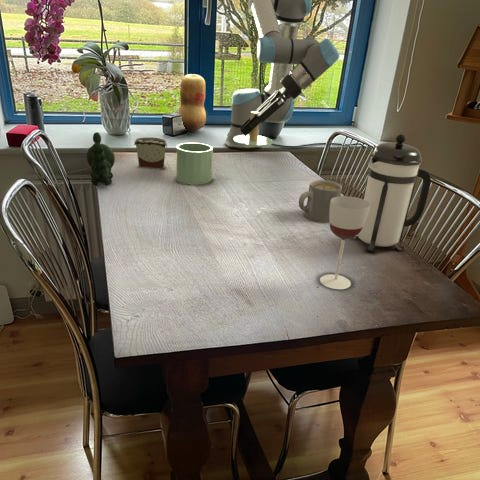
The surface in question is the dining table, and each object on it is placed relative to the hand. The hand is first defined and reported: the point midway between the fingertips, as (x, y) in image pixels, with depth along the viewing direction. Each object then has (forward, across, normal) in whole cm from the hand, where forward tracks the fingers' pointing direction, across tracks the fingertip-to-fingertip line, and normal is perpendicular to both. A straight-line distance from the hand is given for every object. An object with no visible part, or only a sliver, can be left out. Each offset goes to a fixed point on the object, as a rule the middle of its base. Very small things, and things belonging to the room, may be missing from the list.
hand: (242, 131), depth 171 cm
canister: (+24, 0, -1) cm, 24 cm away
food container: (+36, +15, +10) cm, 40 cm away
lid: (-1, 0, -5) cm, 5 cm away
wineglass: (-2, -74, -27) cm, 78 cm away
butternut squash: (+27, +76, +1) cm, 80 cm away
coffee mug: (-4, -31, -29) cm, 42 cm away
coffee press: (-15, -50, -39) cm, 65 cm away
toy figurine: (+47, -6, +22) cm, 52 cm away
